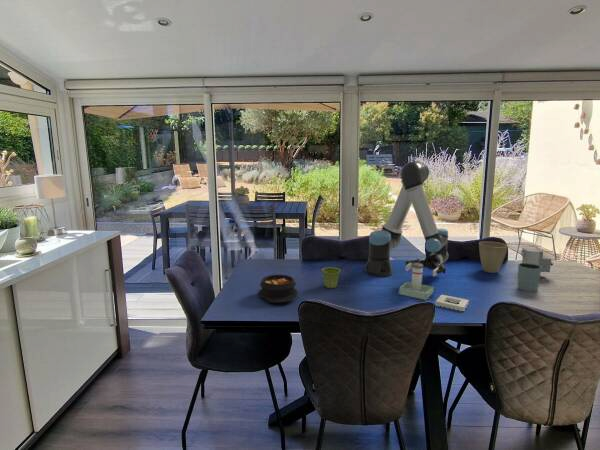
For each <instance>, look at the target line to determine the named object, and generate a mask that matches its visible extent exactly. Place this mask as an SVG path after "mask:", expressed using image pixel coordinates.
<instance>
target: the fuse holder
mask: <svg viewBox="0 0 600 450" xmlns="http://www.w3.org/2000/svg"><path fill="white" fill-rule="evenodd" d="M448 301H449V302H448ZM469 301H470V300H469V299H464V298H461V297H460V298H459V297H455V296H450V295H447V294H441V295H440V296H439V297H438V298H437V299H436V300H435V304H434V305H436V307H440V306H441V308H444V307H445V309H449V308H450V310H453V309H454V310H455V311H458V310H459V311H458V312H462V311H464V312H465V310H466V309H467V308H468V306H469ZM457 303H459V304H457ZM467 305H468V306H467ZM465 308H466V309H465Z"/></svg>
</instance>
